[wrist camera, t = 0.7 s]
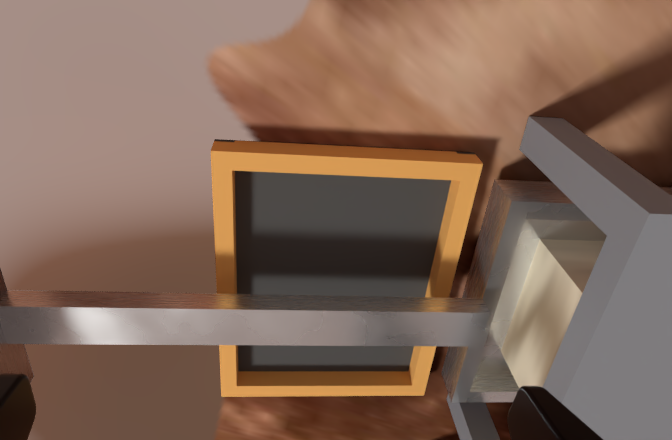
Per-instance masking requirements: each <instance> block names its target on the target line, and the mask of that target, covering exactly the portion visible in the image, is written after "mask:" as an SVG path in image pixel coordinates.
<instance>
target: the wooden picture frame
mask: <svg viewBox="0 0 672 440" xmlns="http://www.w3.org/2000/svg"><path fill="white" fill-rule="evenodd" d="M482 166H483V163H482V162H481V161H480V160H479V158H478V157H477V156H476V155H475V153H473V152H453V151H433V150H414V149H394V148H374V147H355V146H335V145H316V144H296V143H276V142H257V141H236V140H216V139H215V141H214V143H213V146H212V149H211V167H212V190H213V212H214V236H215V259H216V279H217V294H264V295H322V296H381V297H440V298H449V295H450V291H451V287H452V283H453V279H454V276H455V272H456V268H457V264H458V260H459V256H460V252H461V248H462V244H463V240H464V237H465V233H466V229H467V225H468V221H469V217H470V213H471V209H472V205H473V201H474V197H475V194H476V190H477V186H478V182H479V178H480V174H481V170H482ZM219 350H220V373H221V396H222V397H250V396H424V393H425V389H426V385H427V381H428V377H429V373H430V369H431V365H432V361H433V358H434V354H435V350H436V346H291V345H219Z"/></svg>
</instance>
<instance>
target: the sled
mask: <svg viewBox="0 0 672 440" xmlns="http://www.w3.org/2000/svg"><path fill="white" fill-rule="evenodd" d="M659 188H661V189H662V190H664V191H665V192H666V193H668V194H669V195H671V196H672V187H659ZM606 237H607V235H606V234H605V233H604V232H602V231H601V230H600V229H599V228H598V227H597V226H596V225H595V224H594V223H593V222H592V221H591V220H590V219H589V218H588V217H587V216H586V215H585V214H584V213H583V212H582V211H581V210H580V209H579V208H578V207H577V206H576V205H575V204H574V203H573V202H572V201H571V200H570V199H569V198H568V197H567V196H566V195H565V194H564V193H563V192H562V191H561V190H560V189H559V188H558V187H557V186H556V185H555V184H554V183H553V182H541V181H518V180H496V179H494V183H493V186H492V190H491V194H490V197H489V201H488V205H487V208H486V212H485V216H484V219H483V223H482V226H481V230H480V234H479V237H478V241H477V245H476V248H475V252H474V256H473V259H472V263H471V267H470V270H469V274H468V278H467V281H466V285H465V289H464V292H463V296H462V298H440V297H381V296H322V295H264V294H205V293H144V292H143V293H142V292H88V291H83V292H82V291H29V290H28V291H27V290H7V288H6V285H5V282H4V279H3V276H2V272H1V269H0V374H2V373H17V374H25V375H26V376H27V377H28V378H29V381H30V382H31V380H32V379H33V377H34V375H33V372H32V368H31V365H30V362H29V359H28V356H27V352H26V349H25V346H24V344H118V345H119V344H120V345H123V344H124V345H125V344H126V345H132V344H133V345H291V346H449V347H448V351H447V355H446V358H445V362H444V366H443V369H442V376H443V379H444V382H445V385H446V388H447V391H448V394H449V397H450V400H451V403H457V402H513V401H514V398H515V396H516V394H517V391H518V390H519V387H518V385H517V383H516V381H515V379H514V377H513V375H512V373H511V371H510V369H509V367H508V365H507V363H506V361H505V359H504V357H503V355H502V353H501V349H502V346H503V343H504V341H505V338H506V335H507V332H508V329H509V326H510V323H511V320H512V318H513V315H514V312H515V309H516V306H517V303H518V300H519V297H520V294H521V292H522V289H523V286H524V283H525V280H526V277H527V274H528V271H529V269H530V266H531V263H532V260H533V257H534V254H535V251H536V248H537V246H538V243H539V240H540V239H551V240H583V241H605V239H606Z"/></svg>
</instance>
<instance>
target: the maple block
mask: <svg viewBox="0 0 672 440" xmlns="http://www.w3.org/2000/svg"><path fill="white" fill-rule="evenodd" d="M604 242H605V241H583V240H551V239H540V240H539V243H538V246H537V248H536V251H535V254H534V257H533V260H532V263H531V266H530V269H529V271H528V274H527V277H526V280H525V283H524V286H523V289H522V292H521V294H520V297H519V300H518V303H517V306H516V309H515V312H514V315H513V318H512V320H511V323H510V326H509V329H508V332H507V335H506V338H505V341H504V343H503V346H502V349H501V353H502V355H503V357H504V359H505V361H506V363H507V365H508V367H509V369H510V371H511V373H512V375H513V377H514V379H515V381H516V383H517V385H518V387H519V388H520V387H522V386H540V387H543V385H544V382H545V380H546V378H547V375H548V373H549V371H550V368H551V366H552V364H553V361H554V359H555V357H556V354H557V352H558V350H559V347H560V345H561V343H562V340H563V338H564V335H565V333H566V331H567V328H568V326H569V324H570V321H571V319H572V317H573V314H574V312H575V310H576V307H577V305H578V303H579V300H580V298H581V296H582V293H583V291H584V289H585V286H586V284H587V282H588V279H589V277H590V275H591V272H592V270H593V268H594V265H595V263H596V260H597V258H598V256H599V253H600V251H601V249H602V246H603V244H604Z"/></svg>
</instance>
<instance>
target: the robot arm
mask: <svg viewBox="0 0 672 440" xmlns="http://www.w3.org/2000/svg"><path fill="white" fill-rule="evenodd" d="M35 414H36V404H35V400H34V396H33V392H32V389H31V385H30V381H29V378H28V377H27V376H26V375H25V374H17V373H2V374H0V440H27V439H28V436H29V433H30V431H31V428H32V425H33V422H34V419H35ZM507 422H508V428H509V432H510V436H511V440H603V439H602V438H601V437H600V436H599V435H598V434H597V433H595V432H594V431H593V430H592V429H591V428H590V427H588V426H587V425H586V424H585V423H584V422H583V421H582V420H580V419H579V418H578V417H577V416H576V415H575V414H574V413H572V412H571V411H570V410H569V409H568V408H567V407H566V406H564V405H563V404H562V403H561V402H560V401H559V400H557V399H556V398H555V397H554V396H553V395H552V394H551V393H549V392H548V391H547V390H546V389H545V388H543V387H540V386H522V387H520V388H519V390H518V391H517V394H516V396H515V398H514V401H513V403H512V405H511V407H510V410H509V412H508V417H507Z"/></svg>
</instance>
